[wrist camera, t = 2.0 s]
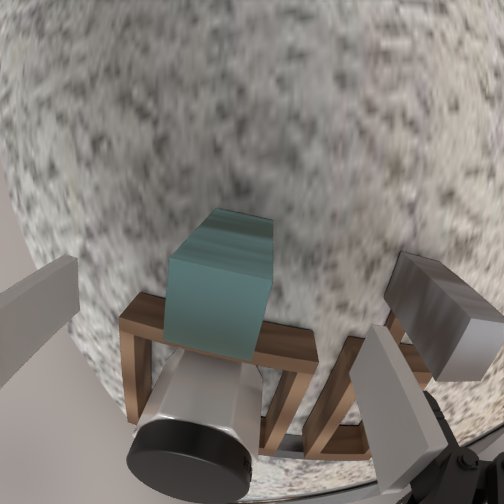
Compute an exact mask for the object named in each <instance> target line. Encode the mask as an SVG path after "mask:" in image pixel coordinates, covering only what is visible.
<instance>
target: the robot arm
mask: <svg viewBox="0 0 504 504" xmlns="http://www.w3.org/2000/svg"><path fill="white" fill-rule="evenodd" d="M79 311H80V305H79V289H78V262H77V258H76V257H72V256H69V255H63V256H61V257H59V258H58V259H56V260H54V261H53V262H51V263H49V264H47V265H46V266H44V267H42V268H41V269H39V270H37V271H36V272H34V273H32V274H31V275H29V276H28V277H26V278H24V279H23V280H21V281H20V282H18V283H16V284H15V285H13V286H12V287H10V288H8V289H7V290H6V291H4V292H2V293H1V294H0V389H1V388H2V387H3V386H4V385H5V384H6V383H7V381H9V379H10V378H11V377H12V376H13V375H14V374H15V373H16V372H17V371H18V370H19V369H20V368H21V367H22V366H23V365H24V364H25V363H26V362H27V361H28V360H29V359H30V358H31V357H32V356H33V355H34V354H35V353H36V352H37V351H38V350H39V349H40V348H41V347H42V346H43V345H44V344H45V343H46V342H47V341H48V340H49V339H50V338H51V337H52V336H53V335H54V334H55V333H56V332H57V331H58V330H59V329H60V328H62V327H63V326H64V325H65V324H66V323H67V322H68V321H69V320H70V319H71V318H72V317H73V316H74V315H75V314H77V313H78V312H79ZM349 375H350V378H351V382H352V385H353V389H354V392H355V396H356V399H357V403H358V406H359V410H360V413H361V417H362V421H363V424H364V428H365V432H366V436H367V440H368V443H369V447H370V451H371V455H372V459H373V464H374V468H375V472H376V476H377V480H378V485H379V489H380V494H388V493H395V492H400V491H401V490H402V489H404V488H405V487H406V486H407V485H408V484H409V483H410V485H411V489H412V490H411V491H410V492H409V493H408V494H407V495H405V496H404V497H403V498H402V499H401V500H399V501H398V502H397V503H396V504H401V503H402V502H403V503H402V504H486V503H487V504H504V452H502V453H500V454H499V455H498V456H497V457H496V458H495V459H494V460H493V461H482V460H479V457H478V456H477V455H476V453H475V452H473V451H472V450H471V449H469V448H465V447H459V445H458V443H457V441H456V439H455V437H454V435H453V433H452V431H451V429H450V427H449V425H448V423H447V421H446V419H444V418H445V417H444V415H443V413H442V411H440V410H441V409H440V407H439V405H438V403H437V402H436V400H435V399H434V398H433V397H432V396H431V395H430V394H429V393H428V392H427V391H422V390H421V388H420V386H419V384H418V382H417V380H416V378H415V376H414V374H413V373H412V371H411V369H410V367H409V365H408V363H407V362H406V360H405V358H404V356H403V354H402V353H401V351H400V349H399V347H398V346H397V344H396V342H395V340H394V339H393V337H392V335H391V333H390V332H389V330H388V328H387V327H385V326H379V325H373V324H371V327H370V329H369V331H368V333H367V336H366V338H365V340H364V342H363V345H362V347H361V349H360V351H359V353H358V355H357V358H356V360H355V362H354V364H353V366H352V368H351V370H350V372H349Z"/></svg>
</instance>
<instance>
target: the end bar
mask: <svg viewBox="0 0 504 504" xmlns="http://www.w3.org/2000/svg"><path fill="white" fill-rule="evenodd" d="M258 455H263V454H258ZM264 456H271V455H264ZM272 457H282V458H292V459H304V451H303V436H297V435H288V434H285V435H284V437H283V439H282V441H281V443H280V444H279V446H278V448H277V450H276V452H275V454H274V456H272ZM306 460H321V459H306ZM328 461H363V460H328Z"/></svg>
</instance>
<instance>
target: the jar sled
mask: <svg viewBox="0 0 504 504" xmlns="http://www.w3.org/2000/svg"><path fill="white" fill-rule="evenodd" d="M272 283H273V220H269V219H265V218H260V217H255V216H251V215H246V214H241V213H237V212H232V211H227V210H222V209H217V208H216V209H215V210H214V211H213V212H212V213H211V214H210V215H209V216H208V217H207V218H206V219H205V220H204V222H203V223H202V224H201V225H200V226H199V227H198V228H197V229H196V230H195V231H194V232H193V233H192V234H191V235H190V236H189V237H188V238H187V240H186V241H185V242H184V243H183V244H182V245H181V246H180V247H179V248H178V249H177V250H176V251H175V252H174V254H173V255H172V256H171V257H170V259H169V268H168V278H167V290H166V299H162V298H158V297H154V296H151V295H147V294H143V293H139V294H138V295H137V296H136V297H135V299H134V300H133V301H132V302H131V303H130V304H129V306H128V307H127V308H126V309H125V310H124V311H123V313H122V314H121V315H120V316H119V333H120V352H121V365H122V377H123V387H124V396H125V404H126V412H127V419H128V422H129V423H132V424H135V425H137V424H138V421H139V419H140V417H141V415H142V413H143V410H144V408H145V406H146V404H147V402H148V399H149V397H150V395H151V393H152V392H151V340H153V341H156V342H160V343H163V344H167V345H170V346H174V347H178V348H182V349H186V350H189V351H193V352H198V353H202V354H206V355H210V356H214V357H219V358H223V359H228V360H233V361H237V362H242V363H247V364H252V365H258V366H263V367H269V368H274V369H280V370H284V372H283V375H282V377H281V380H280V383H279V385H278V388H277V391H276V393H275V396H274V398H273V401H272V403H271V406H270V408H269V411H268V413H267V416H266V418H261V422H260V437H259V452H258V454H263V455H271V456H274V454H275V452H276V450H277V448H278V446H279V444H280V443H281V441H282V439H283V437H284V435H285V433H286V431H287V429H288V427H289V425H290V423H291V421H292V419H293V417H294V415H295V413H296V411H297V409H298V407H299V405H300V403H301V401H302V399H303V397H304V395H305V392H306V390H307V388H308V386H309V384H310V381H311V379H312V377H313V375H314V373H315V370H316V368H317V366H318V363H319V360H318V354H317V349H316V344H315V338H314V333H313V331H309V330H304V329H298V328H293V327H287V326H282V325H277V324H272V323H267V322H262V321H263V317H264V313H265V309H266V306H267V302H268V298H269V294H270V290H271V286H272Z"/></svg>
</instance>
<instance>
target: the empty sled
mask: <svg viewBox="0 0 504 504" xmlns="http://www.w3.org/2000/svg"><path fill="white" fill-rule="evenodd" d="M384 299H385V301H386V302H387V304H388V305H389V307H390V308H391V310H392V311H391V313H390V316H389V318H388V320H387V322H386V325H385V327H387V328H388V330H389V332H390V333H391V335H392V337H393V339H394V340H395V342H396V344H397V346H398V347H399V349H400V351H401V353H402V354H403V356H404V358H405V360H406V362H407V363H408V365H409V367H410V369H411V371H412V373H413V374H414V376H415V378H416V380H417V382H418V384H419V386H420V388H421V390H422V391H423V390H424V389H425V387H426V386H427V384H428V383H429V381H430V379H431V378H432V376H433V378H434V380H435V381H442V382H458V381H481V379H482V378H483V376H484V375H485V373H486V371H487V370H488V368H489V367H490V365H491V363H492V362H493V360H494V358H495V357H496V355H497V353H498V352H499V350H500V348H501V346H502V345H503V343H504V316H503V315H502V314H501V313H500V312H499V311H498V310H497V309H496V308H494V307H493V306H492V305H491V304H490V303H489V302H488V301H487V300H485V299H484V298H483V297H482V296H481V295H480V294H479V293H477V292H476V291H475V290H474V289H473V288H472V287H470V286H469V285H468V284H467V283H466V282H464V281H463V280H462V279H461V278H460V277H458V276H457V275H456V274H455V273H453V272H452V271H451V270H450V269H448V268H447V267H446V266H445V265H443V264H442V263H441V262H439V261H435V260H431V259H428V258H424V257H420V256H417V255H413V254H409V253H406V252H402V251H401V253H400V256H399V259H398V261H397V264H396V267H395V270H394V273H393V275H392V278H391V281H390V283H389V286H388V288H387V291H386V294H385V296H384ZM405 332H406V333H407V335H408V336H409V338H410V339H411V341H412V343H413V344H414V345H405V344H400V342H401V340H402V338H403V336H404V334H405ZM364 340H365V339H359V338H353V337H348V338H347V340H346V343H345V345H344V347H343V349H342V352H341V354H340V356H339V358H338V360H337V363H336V365H335V367H334V369H333V371H332V373H331V375H330V377H329V379H328V381H327V383H326V385H325V387H324V389H323V391H322V393H321V395H320V397H319V399H318V401H317V403H316V405H315V407H314V409H313V411H312V413H311V414H310V416H309V418H308V420H307V422H306V424H305V425H304V427H303V429H302V434H303V451H304V459H321V460H369V459H370V458H371V457H372V455H371V451H370V447H369V443H368V440H367V436H366V432H365V428H364V424H363V421H362V422H361V423H360V425H359V426H339V425H340V423H341V421H342V420H343V418H344V417H345V415H346V414H347V412H348V410H349V409H350V407H351V406H352V404H353V402H354V401H355V399H356V396H355V392H354V389H353V385H352V382H351V378H350V375H349V372H350V370H351V368H352V366H353V364H354V362H355V360H356V358H357V355H358V353H359V351H360V349H361V347H362V345H363V342H364Z"/></svg>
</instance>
